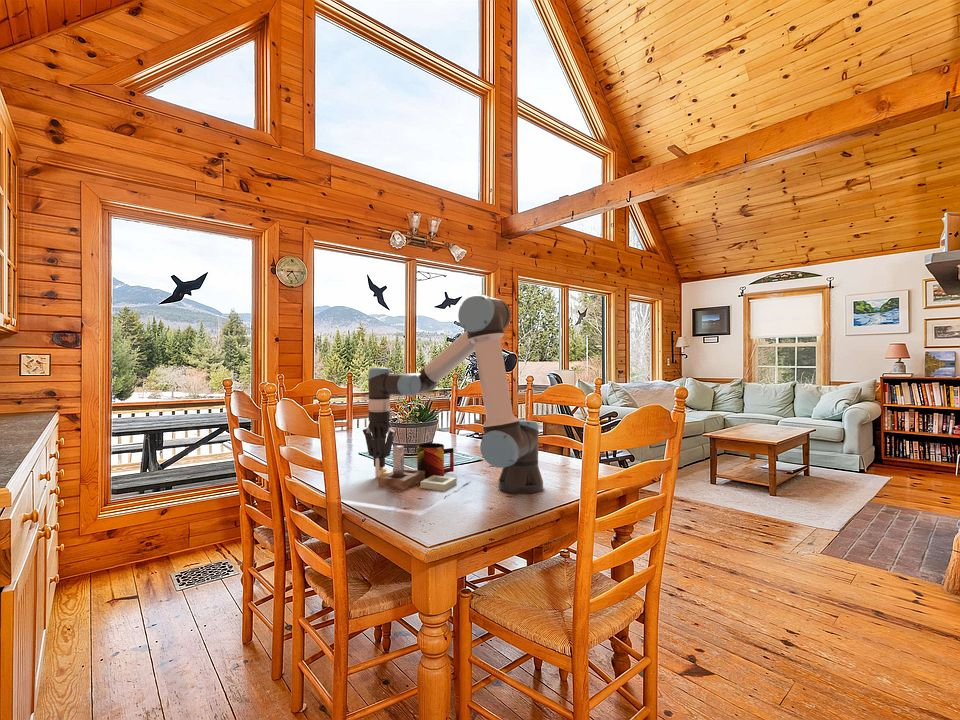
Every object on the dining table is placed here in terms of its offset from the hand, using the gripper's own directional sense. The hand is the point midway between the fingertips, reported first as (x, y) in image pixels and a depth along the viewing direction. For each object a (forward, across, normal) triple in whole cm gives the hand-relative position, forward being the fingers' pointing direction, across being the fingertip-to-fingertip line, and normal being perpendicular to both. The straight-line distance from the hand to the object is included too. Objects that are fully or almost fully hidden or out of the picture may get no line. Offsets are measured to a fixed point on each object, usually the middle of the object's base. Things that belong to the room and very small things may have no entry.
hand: (379, 475), depth 175 cm
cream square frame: (+1, -25, +2) cm, 25 cm away
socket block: (+1, -12, +4) cm, 13 cm away
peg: (0, -12, +6) cm, 14 cm away
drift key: (+1, -6, 0) cm, 6 cm away
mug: (+2, -16, -10) cm, 20 cm away
